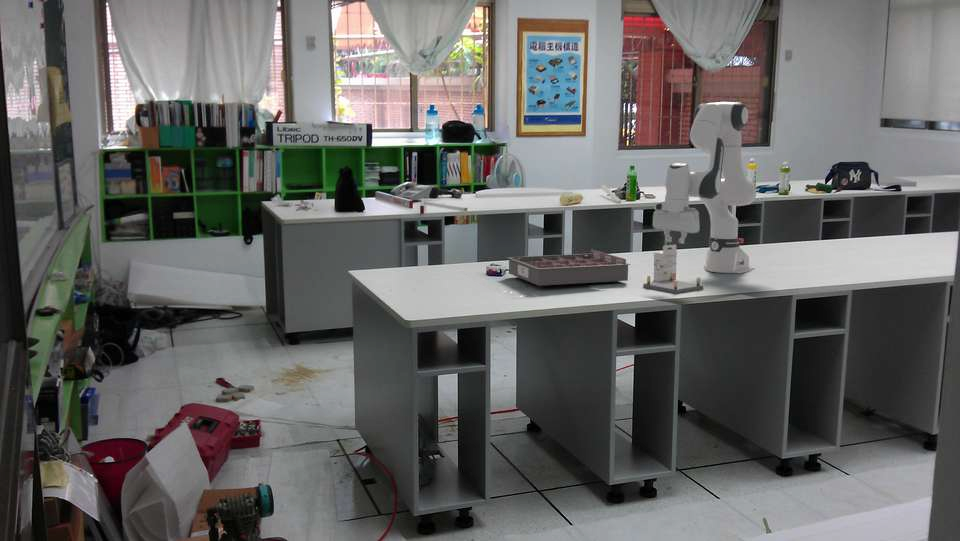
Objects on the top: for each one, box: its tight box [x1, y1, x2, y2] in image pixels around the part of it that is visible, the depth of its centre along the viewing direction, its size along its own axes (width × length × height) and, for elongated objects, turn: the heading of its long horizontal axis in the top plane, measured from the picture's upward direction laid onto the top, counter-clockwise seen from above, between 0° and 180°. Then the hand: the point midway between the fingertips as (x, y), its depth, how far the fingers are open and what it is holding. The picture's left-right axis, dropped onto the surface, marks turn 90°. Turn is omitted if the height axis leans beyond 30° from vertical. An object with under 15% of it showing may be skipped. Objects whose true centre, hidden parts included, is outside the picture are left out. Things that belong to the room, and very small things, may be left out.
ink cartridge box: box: [653, 244, 678, 282], centre depth 359 cm, size 9×5×15 cm, turn 129°
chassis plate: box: [642, 273, 704, 295], centre depth 342 cm, size 16×16×4 cm
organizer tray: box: [506, 249, 631, 286], centre depth 359 cm, size 32×40×10 cm
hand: (675, 242), depth 339 cm, fingers open, 5 cm apart
